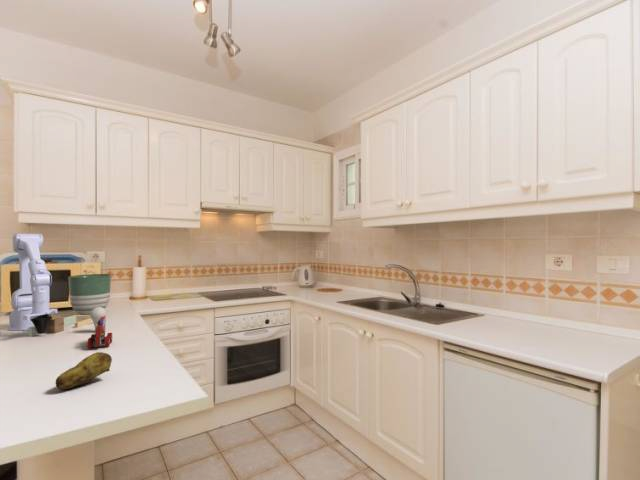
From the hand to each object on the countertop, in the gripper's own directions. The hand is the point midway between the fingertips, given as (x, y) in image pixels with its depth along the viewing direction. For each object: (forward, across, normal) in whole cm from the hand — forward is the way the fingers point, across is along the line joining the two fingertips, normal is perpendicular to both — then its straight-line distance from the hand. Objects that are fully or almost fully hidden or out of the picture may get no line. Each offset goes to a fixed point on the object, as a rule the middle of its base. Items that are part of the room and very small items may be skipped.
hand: (41, 333), depth 146 cm
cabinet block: (+1, +6, 0) cm, 6 cm away
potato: (+1, -46, -56) cm, 73 cm away
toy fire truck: (+1, -12, -35) cm, 37 cm away
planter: (+1, +42, +11) cm, 44 cm away
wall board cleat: (+1, +11, 0) cm, 11 cm away
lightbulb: (+1, +7, -20) cm, 22 cm away
